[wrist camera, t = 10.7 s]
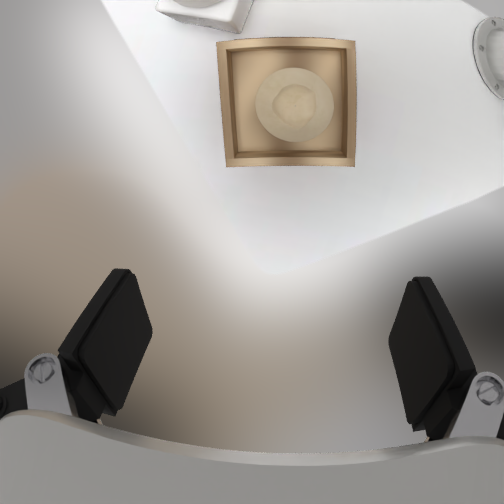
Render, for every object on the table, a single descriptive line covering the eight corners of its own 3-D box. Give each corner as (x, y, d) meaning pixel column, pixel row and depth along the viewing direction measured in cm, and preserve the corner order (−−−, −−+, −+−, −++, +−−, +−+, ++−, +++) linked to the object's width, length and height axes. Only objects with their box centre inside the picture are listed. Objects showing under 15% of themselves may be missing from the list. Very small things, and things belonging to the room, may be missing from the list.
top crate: (346, 45, 23) (354, 40, 20) (347, 157, 30) (354, 166, 27) (223, 46, 25) (216, 42, 22) (231, 158, 31) (226, 167, 28)
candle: (318, 127, 28) (334, 149, 19) (262, 124, 28) (253, 144, 20) (320, 74, 25) (339, 70, 16) (262, 71, 25) (253, 65, 17)
